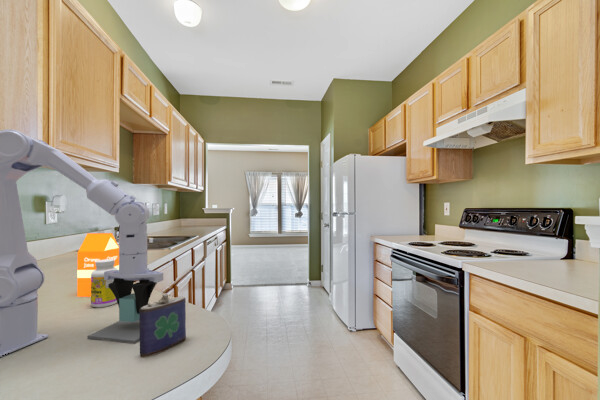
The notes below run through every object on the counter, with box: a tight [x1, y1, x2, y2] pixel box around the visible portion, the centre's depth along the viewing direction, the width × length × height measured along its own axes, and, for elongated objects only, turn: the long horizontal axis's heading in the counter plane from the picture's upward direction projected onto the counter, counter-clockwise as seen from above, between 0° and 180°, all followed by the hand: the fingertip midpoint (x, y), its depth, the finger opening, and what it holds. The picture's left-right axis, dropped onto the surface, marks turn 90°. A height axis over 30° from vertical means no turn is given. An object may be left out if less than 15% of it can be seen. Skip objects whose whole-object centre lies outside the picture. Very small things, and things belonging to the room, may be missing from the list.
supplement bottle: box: [90, 259, 118, 308], centre depth 82 cm, size 7×7×13 cm
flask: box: [139, 292, 187, 358], centre depth 56 cm, size 9×3×11 cm, turn 144°
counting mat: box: [87, 320, 140, 345], centre depth 65 cm, size 12×12×1 cm
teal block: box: [118, 292, 140, 322], centre depth 65 cm, size 4×4×5 cm
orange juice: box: [76, 232, 119, 298], centre depth 93 cm, size 8×9×20 cm
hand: (133, 311), depth 65 cm, fingers closed on teal block, 4 cm apart
